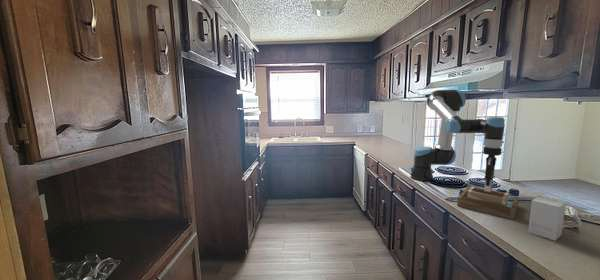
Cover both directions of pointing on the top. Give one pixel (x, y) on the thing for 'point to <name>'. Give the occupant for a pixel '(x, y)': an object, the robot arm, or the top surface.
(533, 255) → the top surface
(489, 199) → the crate
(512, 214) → the bay
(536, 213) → the supplement box
